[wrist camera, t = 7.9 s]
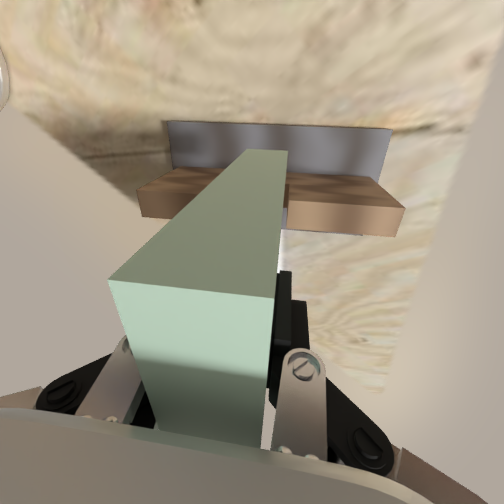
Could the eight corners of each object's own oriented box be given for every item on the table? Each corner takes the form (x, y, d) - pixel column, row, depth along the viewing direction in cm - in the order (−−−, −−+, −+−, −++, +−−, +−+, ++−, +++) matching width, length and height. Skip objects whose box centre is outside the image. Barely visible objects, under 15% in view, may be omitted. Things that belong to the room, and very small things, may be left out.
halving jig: (184, 216, 35) (142, 259, 25) (172, 120, 29) (110, 127, 19) (359, 230, 32) (389, 284, 22) (387, 128, 26) (446, 141, 16)
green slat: (245, 262, 23) (178, 485, 10) (247, 148, 18) (106, 279, 4) (277, 265, 23) (255, 501, 9) (288, 150, 18) (274, 298, 4)
